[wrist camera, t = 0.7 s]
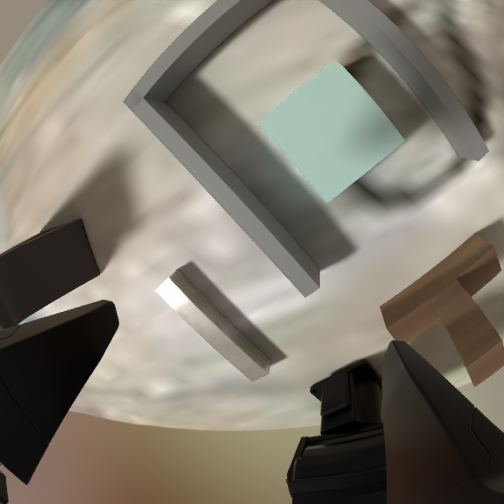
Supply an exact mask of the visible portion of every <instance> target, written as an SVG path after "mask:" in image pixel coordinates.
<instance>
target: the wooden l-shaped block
mask: <svg viewBox="0 0 504 504" xmlns="http://www.w3.org/2000/svg"><path fill="white" fill-rule="evenodd" d="M500 271H501V267H500V264H499V261H498V258H497V255H496V253H495V250H494V247H493V246H492V245H491V244H489V243H488V242H487V241H485V240H484V239H483V238H481V237H480V236H479V235H477V234H476V233H474V234H473V235H472V236H471V237H470V238H469V239H468V240H466V241H465V242H464V243H463V244H462V245H461V246H459V247H458V248H457V249H456V250H455V251H453V252H452V253H451V254H450V255H449V256H447V257H446V258H445V259H444V260H442V261H441V262H440V263H439V264H437V265H436V266H435V267H434V268H432V269H431V270H430V271H429V272H427V273H426V274H425V275H423V276H422V277H421V278H419V279H418V280H417V281H415V282H414V283H413V284H411V285H410V286H408V287H407V288H406V289H404V290H403V291H402V292H400V293H399V294H397V295H396V296H394V297H393V298H392V299H390V300H389V301H387V302H386V303H384V304H383V305H381V306H380V309H381V312H382V315H383V319H384V322H385V325H386V328H387V330H388V331H389V332H390V334H391V335H392V336H393V338H394V339H395V340H403V341H405V342H406V343H407V342H409V341H411V340H412V339H414V338H415V337H417V336H418V335H420V334H421V333H423V332H424V331H426V330H427V329H429V328H430V327H432V326H433V325H435V324H436V323H437V322H439V321H440V320H442V322H443V324H444V325H445V327H446V329H447V331H448V333H449V335H450V337H451V338H452V340H453V342H454V344H455V346H456V348H457V350H458V352H459V354H460V356H461V358H462V361H463V363H464V365H465V367H466V369H467V371H468V373H469V376H470V378H471V380H472V382H473V385H474V387H475V386H477V385H478V384H480V383H481V382H483V381H484V380H485V379H487V378H488V377H489V376H491V375H492V374H494V373H495V372H496V371H498V370H499V369H500V368H502V367H503V366H504V346H503V342H502V339H501V338H500V336H499V335H498V333H497V332H496V330H495V329H494V328H493V326H492V325H491V323H490V322H489V320H488V319H487V318H486V316H485V315H484V314H483V312H482V311H481V310H480V308H479V307H478V306H477V304H476V303H475V302H474V300H473V299H472V298H471V297H472V296H473V295H474V294H475V293H476V292H478V291H479V290H480V289H481V288H482V287H484V286H485V285H486V284H487V283H488V282H489V281H490V280H492V279H493V278H494V277H495V276H496V275H497V274H498V273H499V272H500Z"/></svg>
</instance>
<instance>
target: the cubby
mask: <svg viewBox="0 0 504 504" xmlns="http://www.w3.org/2000/svg"><path fill="white" fill-rule="evenodd" d="M272 1H273V0H217V1H216V2H215V3H214V4H213V5H211V6H210V7H209V8H208V9H207V10H206V11H205V12H203V13H202V14H201V15H200V16H199V17H198V18H197V19H196V20H195V21H194V22H193V23H192V24H191V25H189V26H188V27H187V28H186V29H185V30H184V31H183V32H182V33H181V34H180V35H179V36H178V37H177V38H176V39H175V40H174V41H173V43H172V44H171V45H170V46H169V47H168V48H167V49H166V50H165V51H164V52H163V53H162V54H161V55H160V57H159V58H158V59H157V60H156V61H155V62H154V63H153V65H152V66H151V67H150V68H149V69H148V70H147V72H146V73H145V74H144V75H143V77H142V78H141V79H140V80H139V81H138V83H137V84H136V85H135V87H134V88H133V89H132V90H131V92H130V93H129V94H128V96H127V97H126V98H125V100H124V101H123V102H124V103H125V104H126V105H127V106H128V108H129V109H130V110H131V111H132V112H133V113H134V114H135V115H136V116H137V117H138V118H139V119H140V120H141V121H142V122H143V123H144V124H145V125H146V127H147V128H148V129H149V130H150V131H151V132H152V133H153V134H154V135H155V136H156V137H157V138H158V139H159V140H160V141H161V142H162V143H163V145H164V146H165V147H166V148H167V149H168V150H169V151H170V152H171V153H172V154H173V155H174V156H175V157H176V158H177V159H178V161H179V162H180V163H181V164H182V165H183V166H184V167H185V168H186V169H187V170H188V171H189V172H190V173H191V174H192V175H193V177H194V178H195V179H196V180H197V181H198V182H199V183H200V184H201V185H202V186H203V187H204V188H205V189H206V190H207V192H208V193H209V194H210V195H211V196H212V197H213V198H214V199H215V200H216V201H217V202H218V203H219V204H220V206H221V207H222V208H223V209H224V210H225V211H226V212H227V213H228V214H229V215H230V216H231V217H232V218H233V220H234V221H235V222H236V223H237V224H238V225H239V226H240V227H241V228H242V229H243V230H244V231H245V233H246V234H247V235H248V236H249V237H250V238H251V239H252V240H253V241H254V242H255V243H256V244H257V246H258V247H259V248H260V249H261V250H262V251H263V252H264V253H265V254H266V255H267V256H268V258H269V259H270V260H271V261H272V262H273V263H274V264H275V265H276V266H277V267H278V268H279V270H280V271H281V272H282V273H283V274H284V275H285V276H286V277H287V278H288V279H289V280H290V282H291V283H292V284H293V285H294V286H295V287H296V288H297V289H298V290H299V291H300V293H301V294H302V295H303V296H304V297H307V296H308V295H310V294H311V293H313V292H314V291H316V290H317V289H319V288H320V268H319V267H318V266H317V265H316V263H315V262H314V261H313V260H312V259H311V258H310V256H309V255H308V254H307V253H306V252H305V251H304V250H303V248H302V247H301V246H300V245H299V244H298V243H297V242H296V240H295V239H294V238H293V237H292V236H291V235H290V234H289V232H288V231H287V230H286V229H285V228H284V227H283V226H282V225H281V223H280V222H279V221H278V220H277V219H276V218H275V217H274V216H273V215H272V213H271V212H270V211H269V210H268V209H267V208H266V207H265V206H264V205H263V204H262V202H261V201H260V200H259V199H258V198H257V197H256V196H255V195H254V194H253V193H252V192H251V190H250V189H249V188H248V187H247V186H246V185H245V184H244V183H243V182H242V181H241V180H240V179H239V178H238V176H237V175H236V174H235V173H234V172H233V171H232V170H231V169H230V168H229V167H228V166H227V165H226V164H225V163H224V162H223V161H222V160H221V158H220V157H219V156H218V155H217V154H216V153H215V152H214V151H213V150H212V149H211V148H210V147H209V146H208V145H207V144H206V143H205V142H204V141H203V140H202V139H201V138H200V137H199V136H198V135H197V134H196V133H195V132H194V131H193V130H192V129H191V128H190V127H189V126H188V125H187V124H186V123H185V122H184V121H183V120H182V119H181V118H180V117H179V116H178V115H177V114H176V113H175V112H174V111H173V110H172V109H171V108H170V107H169V106H168V105H167V104H166V103H165V101H166V100H167V98H168V97H169V96H170V95H171V94H172V93H173V92H174V90H175V89H176V88H177V87H178V86H179V85H180V84H181V83H182V82H183V81H184V79H185V78H186V77H187V76H188V75H189V74H190V73H191V72H192V71H193V70H194V69H195V68H196V67H197V66H198V65H199V64H200V63H201V62H202V61H203V60H204V59H205V58H206V57H207V56H208V55H209V54H210V53H211V52H212V51H213V50H214V49H215V48H216V47H217V46H218V45H220V44H221V43H222V42H223V41H224V40H225V39H226V38H227V37H228V36H229V35H231V34H232V33H233V32H234V31H235V30H236V29H238V28H239V27H240V26H241V25H242V24H243V23H245V22H246V21H247V20H248V19H250V18H251V17H252V16H253V15H255V14H256V13H257V12H258V11H260V10H261V9H262V8H264V7H265V6H266V5H268V4H269V3H270V2H272ZM319 1H321V2H322V3H323V4H324V5H326V6H327V7H328V8H330V9H331V10H332V11H333V12H335V13H336V14H337V15H338V16H339V17H341V18H342V19H343V20H344V21H345V22H347V23H348V24H349V25H350V26H351V27H352V28H353V29H355V30H356V31H357V32H358V33H359V34H360V35H361V36H362V37H363V38H364V39H365V40H366V41H367V42H368V43H370V44H371V45H372V46H373V47H374V48H375V49H376V50H377V51H378V52H379V53H380V55H381V56H382V57H383V58H384V59H385V60H386V61H387V62H388V63H389V64H390V65H391V66H392V67H393V68H394V70H395V71H396V72H397V73H398V74H399V75H400V76H401V78H402V79H403V80H404V81H405V82H406V83H407V85H408V86H409V87H410V88H411V89H412V91H413V92H414V93H415V94H416V96H417V97H418V98H419V100H420V101H421V102H422V103H423V105H424V106H425V107H426V109H427V110H428V112H429V113H430V114H431V116H432V117H433V119H434V120H435V121H436V123H437V124H438V126H439V127H440V129H441V130H442V132H443V133H444V135H445V136H446V138H447V139H448V141H449V143H450V144H451V146H452V147H453V149H454V151H455V152H456V154H457V156H458V157H460V158H466V159H471V160H476V161H479V160H480V159H481V158H482V157H483V156H485V155H486V154H487V153H488V152H489V150H488V148H487V146H486V144H485V142H484V141H483V139H482V137H481V135H480V134H479V132H478V130H477V128H476V127H475V125H474V123H473V122H472V120H471V118H470V117H469V115H468V114H467V112H466V110H465V109H464V107H463V106H462V104H461V103H460V101H459V100H458V98H457V97H456V96H455V94H454V93H453V91H452V90H451V89H450V87H449V86H448V84H447V83H446V82H445V80H444V79H443V78H442V76H441V75H440V74H439V73H438V71H437V70H436V69H435V68H434V66H433V65H432V64H431V63H430V62H429V60H428V59H427V58H426V57H425V56H424V55H423V53H422V52H421V51H420V50H419V49H418V48H417V47H416V46H415V44H414V43H413V42H412V41H411V40H410V39H409V38H408V37H407V36H406V35H405V34H404V33H403V32H402V31H401V30H400V29H399V28H398V27H397V26H396V25H395V24H394V23H393V22H392V21H391V20H390V19H389V18H388V17H387V16H385V15H384V14H383V13H382V12H381V11H380V10H379V9H378V8H377V7H375V6H374V5H373V4H372V3H371V2H369V1H368V0H319Z"/></svg>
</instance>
